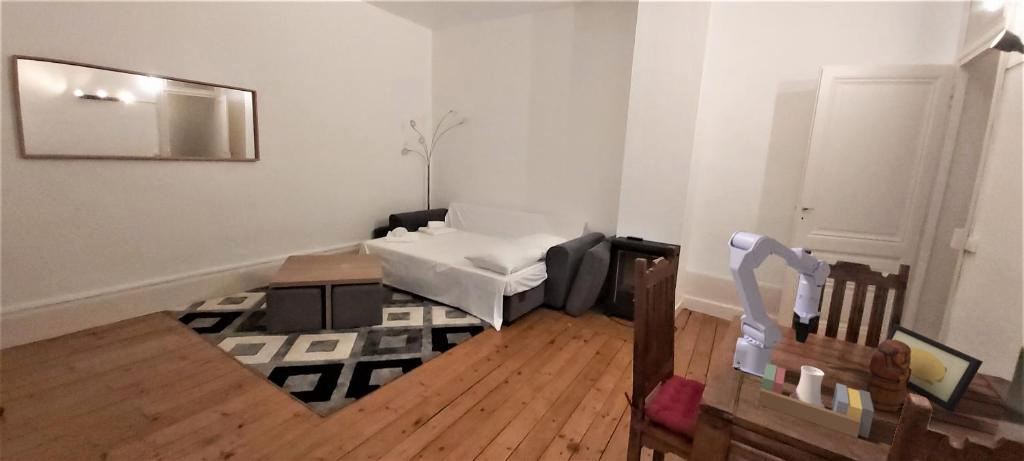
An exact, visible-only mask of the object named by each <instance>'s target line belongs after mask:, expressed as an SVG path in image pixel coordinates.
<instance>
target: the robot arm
mask: <svg viewBox="0 0 1024 461" xmlns="http://www.w3.org/2000/svg"><path fill="white" fill-rule="evenodd" d="M727 246H728V250H729V252H730V255H729V256H730V257H729V268H730V272H731V275H732V278H733V281H734V285H735V288H736V290H737V294H738V297H739V299H740V303H741V306H742V309H743V312H744V314H742V316H741V317H740V323H741V324H740V331H741V333H742V334H743V337H738V338H737V341H736V346H735V352H734V355H733V363H732V364H733V365H732V368H733V367H734V366H735V367H740V369H741V370H740V371H741V372H745V373H748V374H751V375H754V376H758V377H761V378H763V375H764V371H765V367H766V364H767V363H768V364H771V360H772V354H773V349H775V348H776V347H777V346H778V345H779V344H780V343H781V341H782V338H783V333H782V330H781V329H780V328H778V327H777V323H776V322H775V321H774V320H773V319H772V317H770V316H769V315H768V313H767V311H766V306H765V304H764V300H763V297H762V294H761V290H760V287H759V284H758V281H757V278H756V277H757V276H756V275H755V272H754V269H757V268H759V267H760V266H761V265H762V264H763V262H764V261H765V260H766V259H767V258H768V257H769V256H770V255H775V256H778V258H779V257H780V258H781V259H782V261H783V263H784V264H785V265H786V266H788V267H789V268H791V269H793V270H795V271H796V272H797V274H800V275H799V280H798V286H797V291H796V299H795V302H794V307H793V313H794V315H795V317H792V322H793V325H794V330H795V331H794V332H795V342H797V343H801V344H805V343H806V341H807V339H808V337H809V334H810V333H811V331H812V330H813V329H814V328H815V327H816V323H815V322H812V321H813V320H814V319H815V318H816V317H817V316H819V317H822V316H823V313H822V312H821V311H818V310H819V306H820V305H819V304H820V301H821V294H822V290H823V285H825V284H826V280H827V278H828V276H829V275H830V274H831V271H832V270H831V268H830V264H828V262H827V261H825V260H824V259H823V260H822V259H819V258H816V255H814V254H813V253H812V254H811V253H810V254H809V253H808V252H806V249H805V248H803V247H792V248H790V247H788V246H786V244H784V243H781V242H780V241H779V240H776V239H775V238H773V237H769V236H767V235H760V234H757V233H753V232H748V231H745V230H742V229H741V230H736V231H735V232H734V233H733V234H732V235H731V237H730V238H729V240H728V242H727ZM737 362H739V363H740V364H739V363H737Z"/></svg>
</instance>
